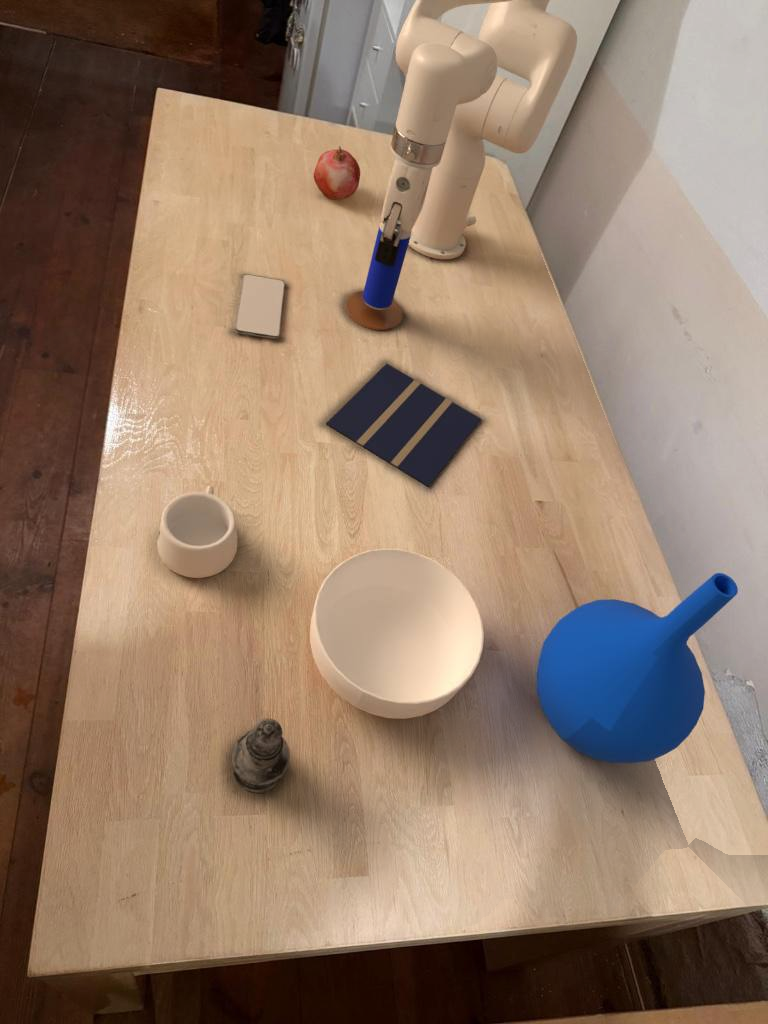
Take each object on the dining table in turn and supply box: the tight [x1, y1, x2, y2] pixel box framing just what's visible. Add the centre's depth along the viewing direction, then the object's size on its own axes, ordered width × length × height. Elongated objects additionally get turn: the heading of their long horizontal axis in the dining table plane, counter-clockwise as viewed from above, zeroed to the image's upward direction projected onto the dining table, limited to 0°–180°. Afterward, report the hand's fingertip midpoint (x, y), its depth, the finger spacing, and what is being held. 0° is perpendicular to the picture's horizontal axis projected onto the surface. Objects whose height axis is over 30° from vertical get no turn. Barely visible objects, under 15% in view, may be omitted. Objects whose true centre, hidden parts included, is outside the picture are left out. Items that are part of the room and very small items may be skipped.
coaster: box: [345, 290, 403, 331], centre depth 129 cm, size 10×10×1 cm
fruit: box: [313, 145, 361, 200], centre depth 145 cm, size 9×10×10 cm
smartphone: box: [234, 273, 286, 340], centre depth 122 cm, size 7×1×15 cm
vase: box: [536, 572, 739, 764], centre depth 80 cm, size 18×18×30 cm
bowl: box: [309, 547, 485, 720], centre depth 87 cm, size 20×20×8 cm
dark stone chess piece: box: [231, 717, 291, 794], centre depth 74 cm, size 6×6×12 cm
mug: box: [156, 485, 239, 579], centre depth 91 cm, size 12×10×6 cm
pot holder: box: [325, 363, 482, 488], centre depth 114 cm, size 18×18×1 cm
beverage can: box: [363, 221, 411, 310], centre depth 122 cm, size 5×5×15 cm
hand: (389, 252), depth 120 cm, fingers closed on beverage can, 5 cm apart
